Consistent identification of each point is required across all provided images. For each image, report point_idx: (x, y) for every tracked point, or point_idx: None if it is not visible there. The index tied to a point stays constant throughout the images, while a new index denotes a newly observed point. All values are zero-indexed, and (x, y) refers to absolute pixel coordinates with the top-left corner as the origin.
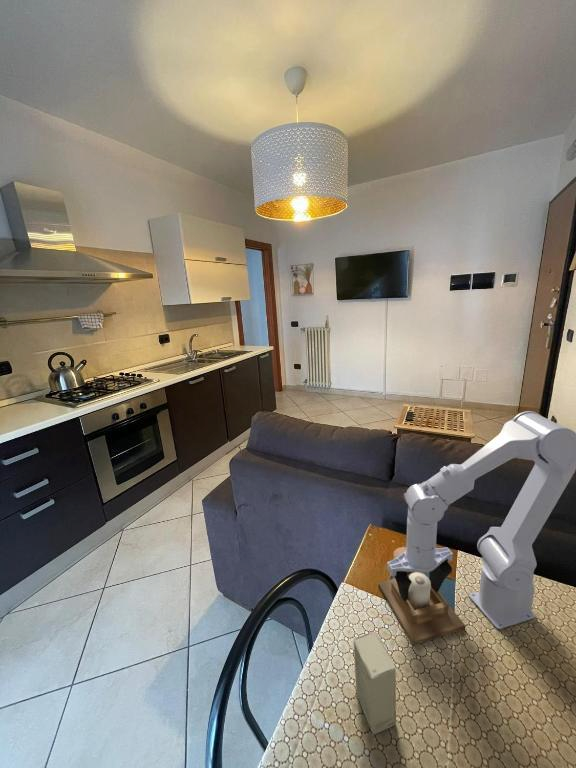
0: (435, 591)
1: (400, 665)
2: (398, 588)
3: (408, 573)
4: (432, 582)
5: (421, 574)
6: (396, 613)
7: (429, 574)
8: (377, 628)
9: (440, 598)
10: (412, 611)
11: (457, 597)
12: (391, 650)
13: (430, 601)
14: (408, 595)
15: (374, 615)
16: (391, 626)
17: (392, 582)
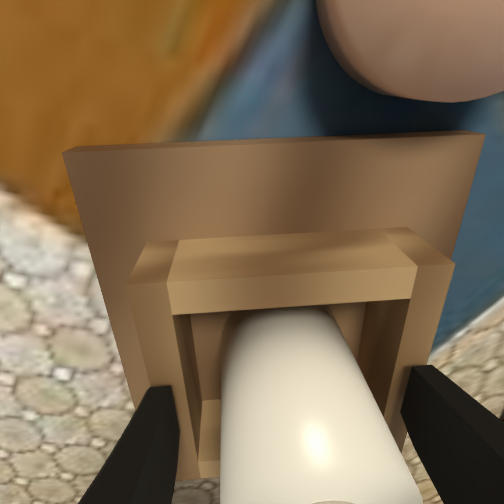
0: (401, 411)
1: (79, 477)
2: (132, 417)
3: (373, 90)
4: (433, 423)
5: (391, 488)
6: (123, 365)
7: (472, 428)
8: (12, 377)
9: (393, 426)
10: (182, 464)
11: (499, 312)
12: (58, 444)
13: (347, 340)
14: (224, 357)
15: (6, 324)
16: (88, 378)
17: (133, 290)
